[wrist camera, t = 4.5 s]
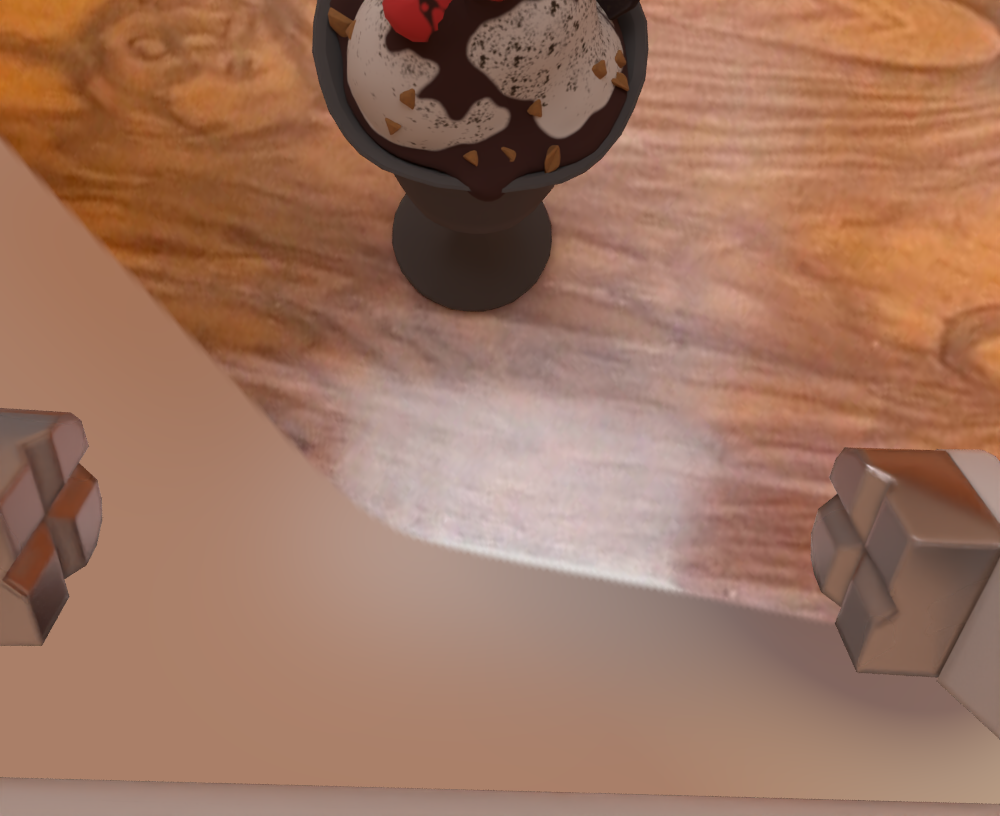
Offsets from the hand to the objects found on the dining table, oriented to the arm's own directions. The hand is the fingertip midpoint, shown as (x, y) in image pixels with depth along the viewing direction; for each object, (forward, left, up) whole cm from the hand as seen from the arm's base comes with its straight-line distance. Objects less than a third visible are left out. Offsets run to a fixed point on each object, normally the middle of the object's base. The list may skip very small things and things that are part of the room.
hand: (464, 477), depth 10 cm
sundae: (-7, +6, -16) cm, 19 cm away
